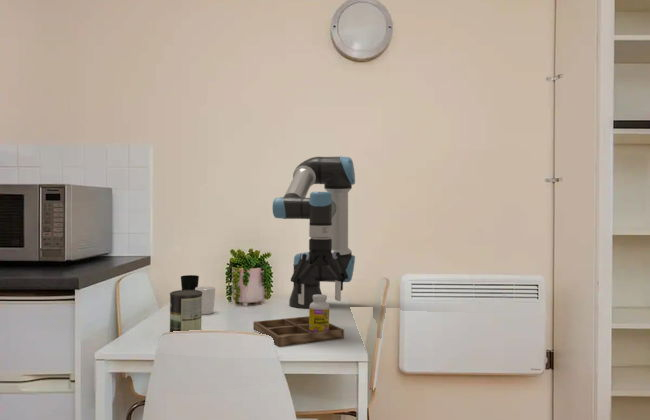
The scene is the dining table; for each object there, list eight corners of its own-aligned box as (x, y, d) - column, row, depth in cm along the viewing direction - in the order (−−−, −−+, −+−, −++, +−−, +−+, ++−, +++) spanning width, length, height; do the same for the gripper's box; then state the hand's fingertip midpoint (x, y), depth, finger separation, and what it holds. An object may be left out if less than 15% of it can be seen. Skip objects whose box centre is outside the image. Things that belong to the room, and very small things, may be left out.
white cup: (200, 315, 191) (200, 290, 191) (191, 312, 197) (191, 287, 197) (218, 313, 196) (218, 288, 196) (209, 310, 202) (209, 285, 202)
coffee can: (164, 338, 157) (165, 294, 157) (175, 330, 167) (175, 289, 167) (196, 339, 157) (197, 295, 157) (205, 331, 167) (206, 290, 167)
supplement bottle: (311, 337, 159) (311, 297, 159) (307, 332, 165) (307, 294, 165) (331, 336, 160) (331, 296, 160) (326, 331, 167) (327, 293, 167)
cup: (190, 301, 220) (191, 274, 220) (202, 303, 216) (202, 276, 216) (176, 303, 214) (177, 276, 214) (188, 306, 210) (188, 278, 210)
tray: (313, 323, 181) (313, 315, 181) (343, 338, 160) (344, 329, 160) (253, 329, 170) (253, 321, 170) (278, 346, 150) (278, 337, 150)
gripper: (290, 239, 154) (289, 307, 154) (358, 238, 165) (357, 301, 165) (281, 238, 160) (280, 303, 161) (347, 236, 172) (346, 297, 172)
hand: (319, 302), depth 163 cm, fingers open, 13 cm apart
